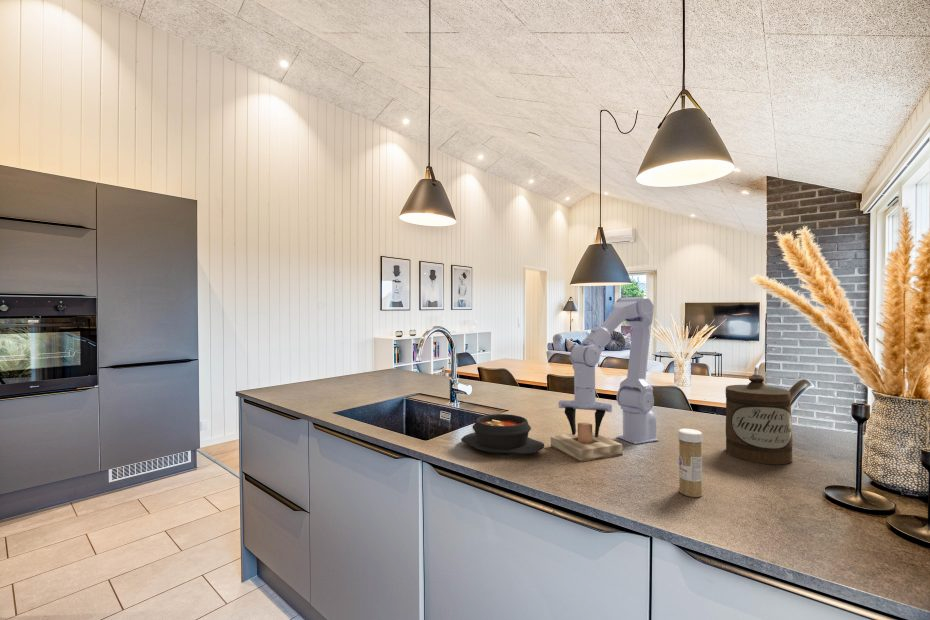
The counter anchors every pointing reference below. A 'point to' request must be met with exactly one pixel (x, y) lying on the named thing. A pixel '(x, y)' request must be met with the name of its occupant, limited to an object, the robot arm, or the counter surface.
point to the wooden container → (759, 422)
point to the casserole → (502, 435)
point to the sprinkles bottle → (690, 462)
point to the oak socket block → (586, 447)
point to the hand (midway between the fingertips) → (585, 435)
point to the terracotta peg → (584, 433)
